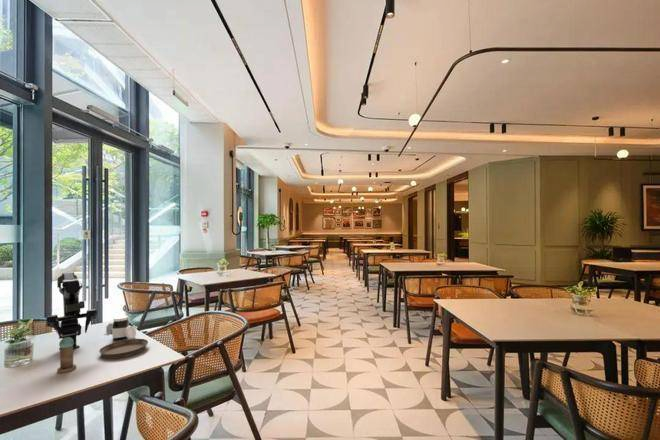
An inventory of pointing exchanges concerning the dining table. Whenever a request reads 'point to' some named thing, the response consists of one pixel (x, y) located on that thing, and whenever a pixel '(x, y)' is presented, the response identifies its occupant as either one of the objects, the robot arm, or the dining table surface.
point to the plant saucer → (123, 348)
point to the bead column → (66, 355)
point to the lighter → (109, 328)
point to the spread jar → (122, 328)
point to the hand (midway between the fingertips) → (73, 334)
